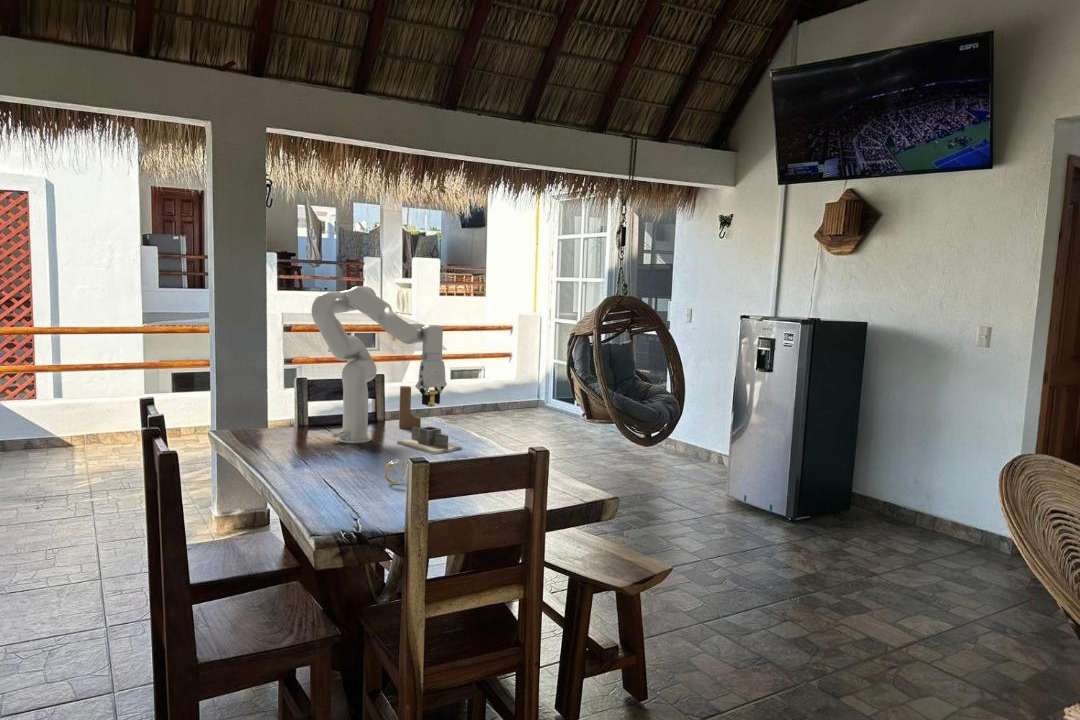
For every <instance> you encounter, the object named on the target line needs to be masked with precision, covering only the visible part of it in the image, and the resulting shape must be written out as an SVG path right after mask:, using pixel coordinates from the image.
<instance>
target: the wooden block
mask: <svg viewBox="0 0 1080 720" xmlns="http://www.w3.org/2000/svg"><path fill="white" fill-rule="evenodd" d="M411 397H412V387H411V386H409V385H408V386H407V385H400V387H399V408H398V409H399V411H398V413H399V417H398V428H399V429H401V430H402V429H403V430H406V429H408V430H412V427H417V428H421V424H422V423H421V422H422V420H421V417H420V416H417V415H414V414H413V413H412V410H411V406H412V405H411V403H412V401H411V400H412V398H411Z"/></svg>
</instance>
